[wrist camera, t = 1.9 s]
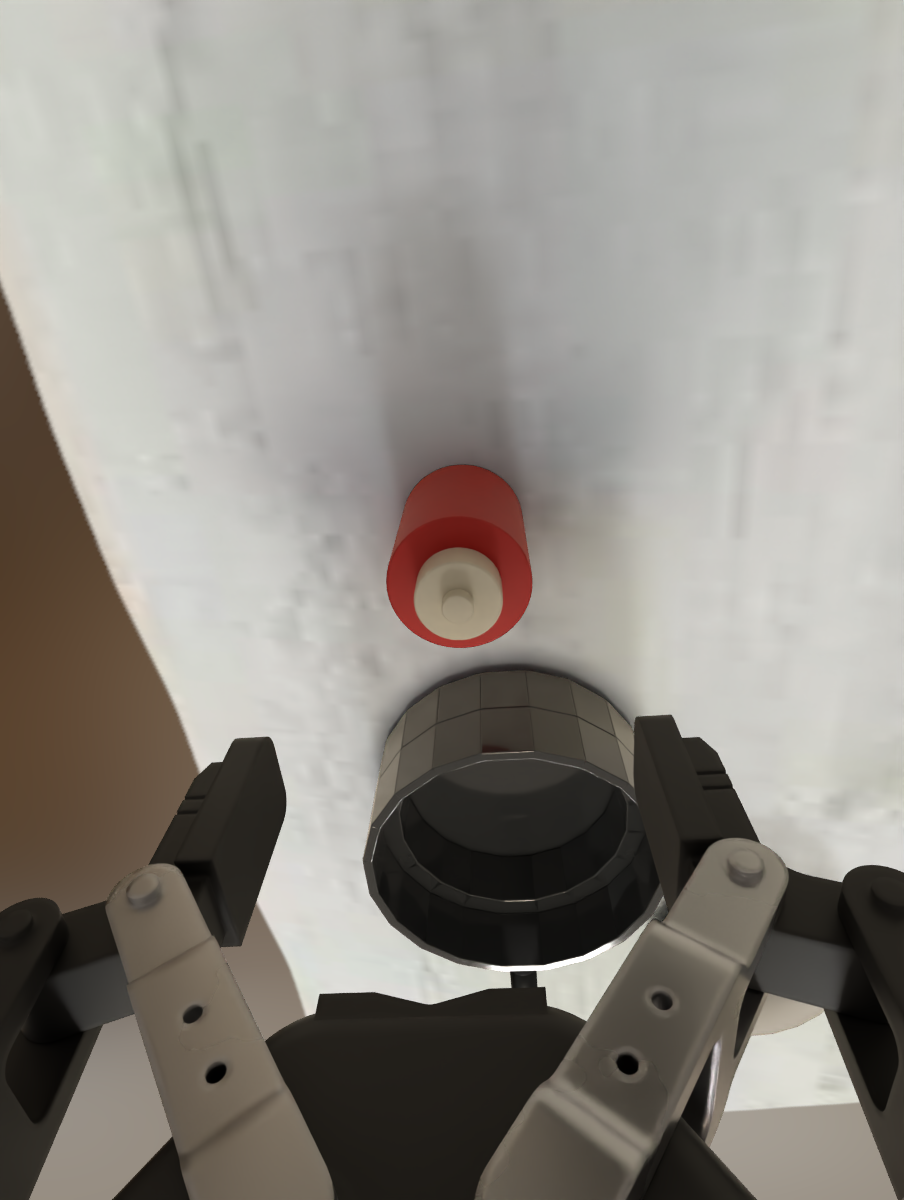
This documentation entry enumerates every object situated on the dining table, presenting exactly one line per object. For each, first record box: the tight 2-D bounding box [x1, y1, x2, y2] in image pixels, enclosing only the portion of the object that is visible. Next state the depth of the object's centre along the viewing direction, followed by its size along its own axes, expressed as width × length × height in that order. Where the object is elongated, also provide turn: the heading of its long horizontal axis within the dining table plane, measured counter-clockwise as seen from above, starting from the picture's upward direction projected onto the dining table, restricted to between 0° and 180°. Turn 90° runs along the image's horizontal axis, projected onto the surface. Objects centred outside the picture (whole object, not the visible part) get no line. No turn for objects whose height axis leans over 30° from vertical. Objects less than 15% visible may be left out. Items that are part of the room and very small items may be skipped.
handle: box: [510, 971, 537, 988], centre depth 34 cm, size 8×1×1 cm, turn 5°
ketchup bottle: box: [386, 465, 532, 648], centre depth 25 cm, size 5×5×8 cm
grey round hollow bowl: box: [363, 670, 664, 972], centre depth 31 cm, size 12×12×6 cm
